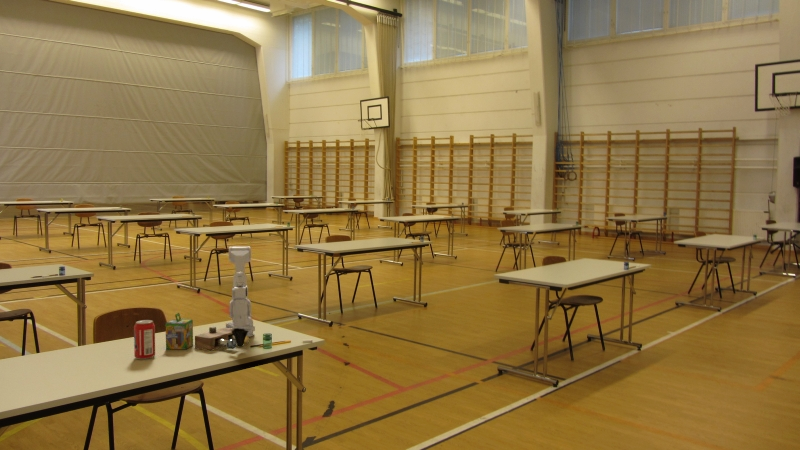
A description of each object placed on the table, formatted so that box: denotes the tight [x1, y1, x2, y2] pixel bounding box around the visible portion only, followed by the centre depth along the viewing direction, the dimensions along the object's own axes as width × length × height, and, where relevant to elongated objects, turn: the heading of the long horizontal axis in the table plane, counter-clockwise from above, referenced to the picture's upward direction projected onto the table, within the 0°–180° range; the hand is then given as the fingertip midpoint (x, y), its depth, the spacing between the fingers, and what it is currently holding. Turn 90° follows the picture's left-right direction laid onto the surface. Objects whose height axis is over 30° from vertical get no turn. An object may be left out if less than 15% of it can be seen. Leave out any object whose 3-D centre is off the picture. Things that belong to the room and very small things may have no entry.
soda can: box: [133, 319, 156, 361], centre depth 248 cm, size 8×8×15 cm
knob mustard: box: [228, 335, 250, 346], centre depth 270 cm, size 4×11×4 cm, turn 62°
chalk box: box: [164, 312, 194, 350], centre depth 266 cm, size 9×9×15 cm
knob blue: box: [215, 338, 237, 350], centre depth 263 cm, size 4×11×4 cm, turn 62°
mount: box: [194, 327, 237, 351], centre depth 270 cm, size 18×9×5 cm, turn 152°
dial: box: [208, 326, 217, 333], centre depth 271 cm, size 3×3×2 cm
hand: (240, 346), depth 259 cm, fingers closed
